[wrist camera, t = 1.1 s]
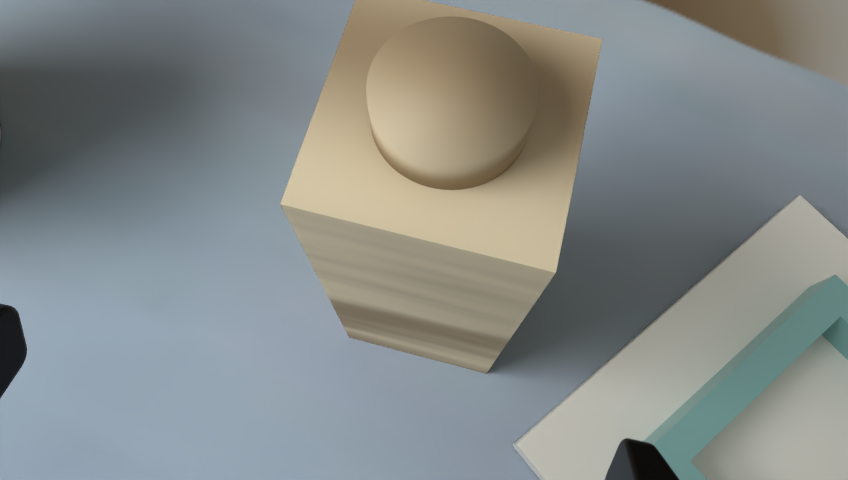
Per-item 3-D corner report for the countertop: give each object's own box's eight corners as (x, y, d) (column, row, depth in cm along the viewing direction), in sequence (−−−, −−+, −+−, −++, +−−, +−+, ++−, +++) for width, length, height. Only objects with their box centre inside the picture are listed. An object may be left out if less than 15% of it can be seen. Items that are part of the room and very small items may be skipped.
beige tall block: (486, 373, 22) (568, 253, 10) (348, 337, 23) (267, 180, 10) (515, 242, 24) (617, 4, 12) (387, 211, 24) (355, -52, 12)
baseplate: (844, 856, 18) (909, 915, 15) (512, 444, 21) (523, 441, 19) (1117, 514, 21) (1206, 520, 18) (785, 205, 24) (824, 177, 22)
